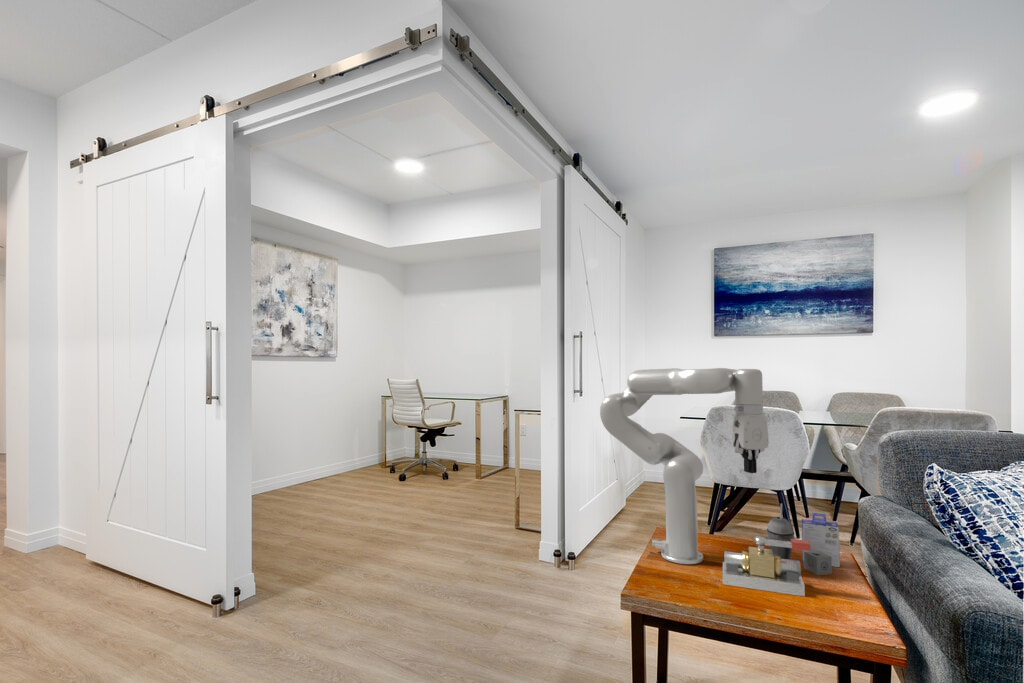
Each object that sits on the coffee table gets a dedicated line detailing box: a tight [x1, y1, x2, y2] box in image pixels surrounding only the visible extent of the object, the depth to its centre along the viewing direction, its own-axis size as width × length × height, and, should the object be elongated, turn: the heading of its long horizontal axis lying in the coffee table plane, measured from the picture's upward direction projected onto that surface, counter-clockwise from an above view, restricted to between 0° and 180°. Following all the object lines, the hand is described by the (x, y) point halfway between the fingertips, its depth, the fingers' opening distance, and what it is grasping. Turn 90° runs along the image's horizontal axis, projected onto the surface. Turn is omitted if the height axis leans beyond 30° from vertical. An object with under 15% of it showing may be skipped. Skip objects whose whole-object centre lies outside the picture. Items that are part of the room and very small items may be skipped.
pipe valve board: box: [722, 544, 806, 597], centre depth 144 cm, size 20×9×11 cm, turn 68°
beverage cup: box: [766, 503, 795, 560], centre depth 153 cm, size 7×7×20 cm
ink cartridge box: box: [801, 512, 841, 568], centre depth 159 cm, size 10×6×14 cm, turn 65°
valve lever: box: [754, 535, 811, 551], centre depth 142 cm, size 14×3×2 cm, turn 69°
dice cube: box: [803, 551, 833, 576], centre depth 152 cm, size 5×5×5 cm
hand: (750, 472), depth 153 cm, fingers closed
